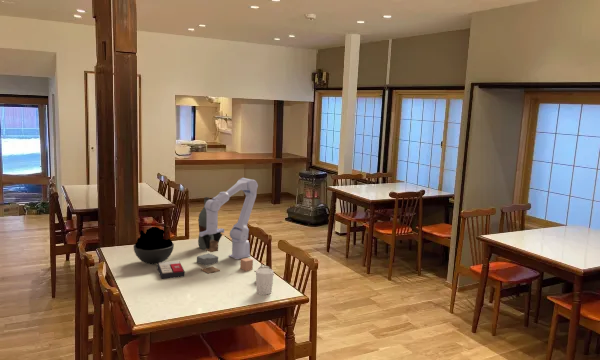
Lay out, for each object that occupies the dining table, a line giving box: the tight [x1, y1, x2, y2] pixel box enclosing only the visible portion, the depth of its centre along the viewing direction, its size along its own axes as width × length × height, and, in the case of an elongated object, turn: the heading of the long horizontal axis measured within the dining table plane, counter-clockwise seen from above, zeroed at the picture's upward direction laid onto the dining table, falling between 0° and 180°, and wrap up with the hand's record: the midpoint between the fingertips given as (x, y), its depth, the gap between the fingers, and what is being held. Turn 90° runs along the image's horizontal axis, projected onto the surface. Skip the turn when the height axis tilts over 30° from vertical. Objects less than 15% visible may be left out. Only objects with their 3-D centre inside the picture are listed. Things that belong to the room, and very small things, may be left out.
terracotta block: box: [239, 257, 254, 272], centre depth 244 cm, size 4×4×5 cm
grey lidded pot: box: [254, 263, 275, 276], centre depth 228 cm, size 9×8×10 cm
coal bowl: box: [133, 226, 175, 265], centre depth 246 cm, size 20×20×19 cm
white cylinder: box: [255, 268, 275, 296], centre depth 213 cm, size 8×8×10 cm
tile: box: [200, 265, 221, 274], centre depth 240 cm, size 7×7×1 cm
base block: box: [196, 252, 219, 266], centre depth 252 cm, size 8×8×4 cm
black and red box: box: [156, 260, 186, 280], centre depth 234 cm, size 11×4×15 cm
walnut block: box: [205, 240, 219, 253], centre depth 250 cm, size 4×4×5 cm
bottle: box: [197, 196, 214, 251], centre depth 276 cm, size 9×9×30 cm
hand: (211, 247), depth 250 cm, fingers closed on walnut block, 4 cm apart
